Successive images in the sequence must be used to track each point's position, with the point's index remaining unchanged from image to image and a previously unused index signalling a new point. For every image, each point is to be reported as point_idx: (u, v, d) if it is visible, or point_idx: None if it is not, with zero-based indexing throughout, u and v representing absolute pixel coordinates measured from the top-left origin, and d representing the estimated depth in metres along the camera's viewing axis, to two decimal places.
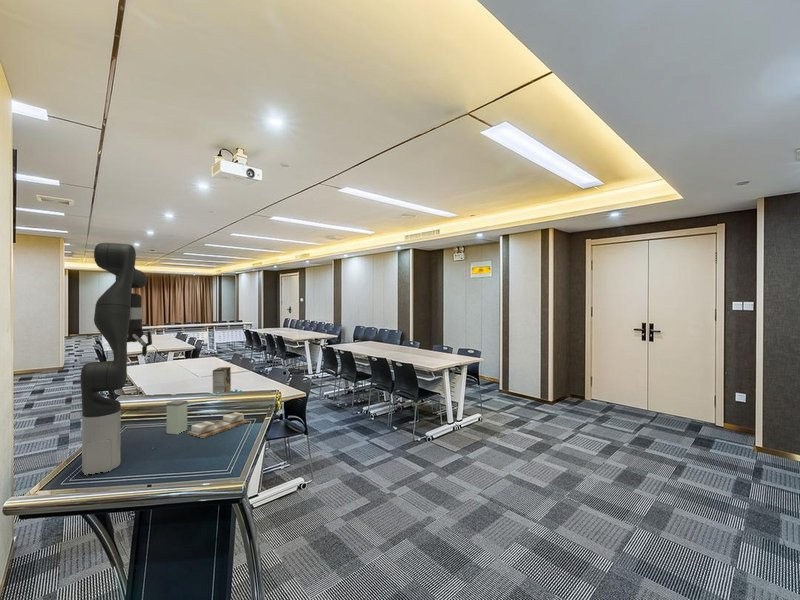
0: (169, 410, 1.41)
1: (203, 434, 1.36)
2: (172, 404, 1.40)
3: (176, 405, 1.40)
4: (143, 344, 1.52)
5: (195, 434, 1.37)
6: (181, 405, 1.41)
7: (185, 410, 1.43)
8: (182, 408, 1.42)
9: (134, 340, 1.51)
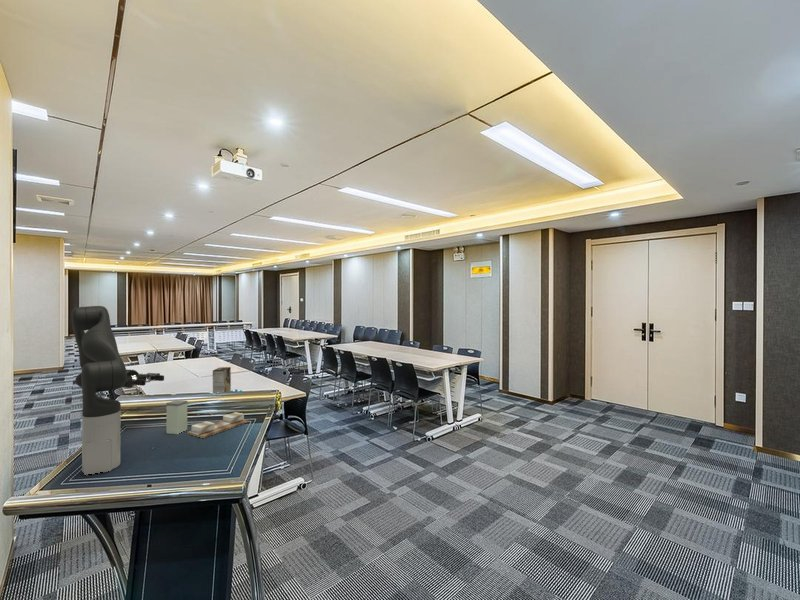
0: (169, 410, 1.41)
1: (203, 434, 1.36)
2: (172, 404, 1.40)
3: (176, 405, 1.40)
4: (154, 374, 1.50)
5: (195, 434, 1.37)
6: (181, 405, 1.41)
7: (185, 410, 1.43)
8: (182, 408, 1.42)
9: (143, 376, 1.48)
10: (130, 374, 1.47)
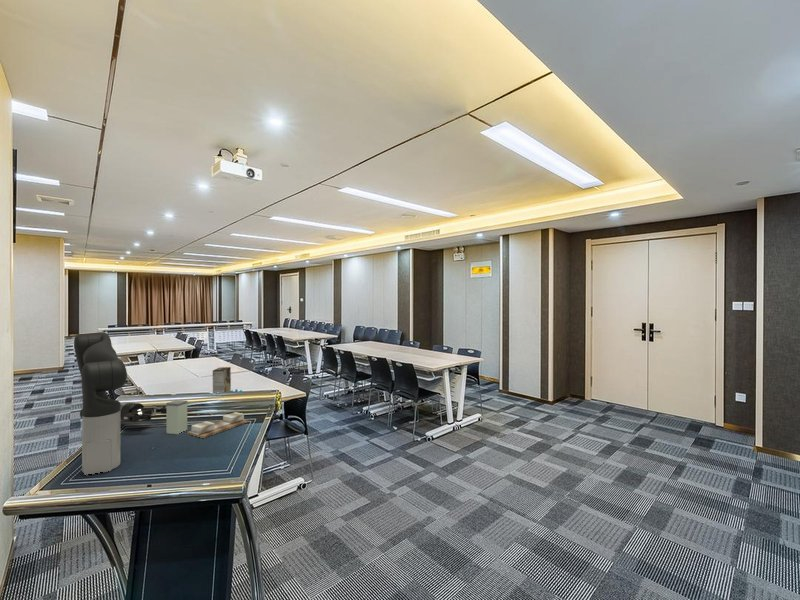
0: (169, 410, 1.41)
1: (203, 434, 1.36)
2: (172, 404, 1.40)
3: (176, 405, 1.40)
4: (159, 407, 1.49)
5: (195, 434, 1.37)
6: (181, 405, 1.41)
7: (185, 410, 1.43)
8: (182, 408, 1.42)
9: (149, 409, 1.47)
10: (135, 408, 1.46)
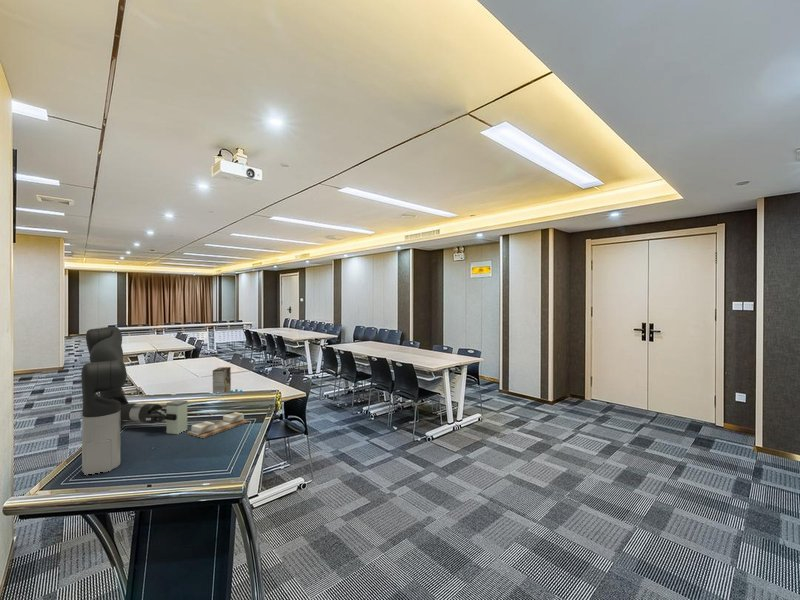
0: (169, 410, 1.41)
1: (203, 434, 1.36)
2: (172, 404, 1.40)
3: (176, 405, 1.40)
4: None
5: (195, 434, 1.37)
6: (181, 405, 1.41)
7: (185, 410, 1.43)
8: (182, 408, 1.42)
9: (166, 411, 1.44)
10: (154, 409, 1.44)
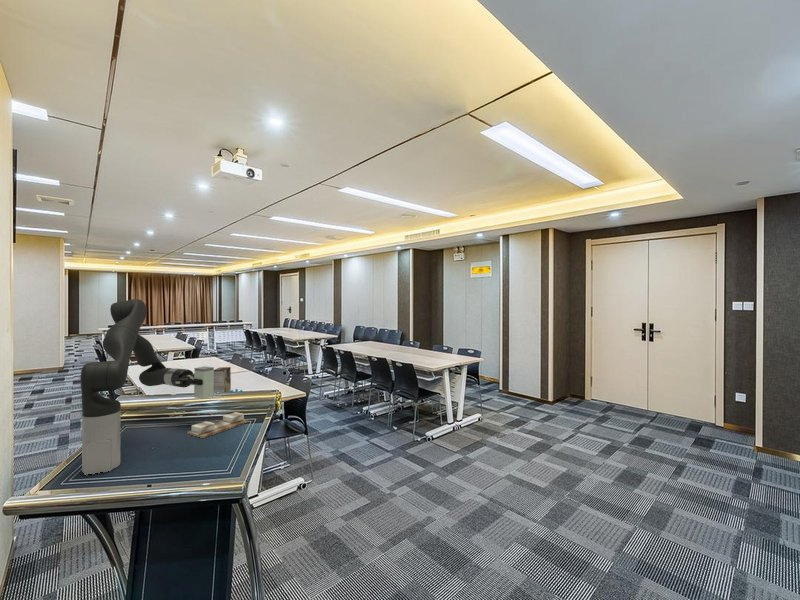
0: (196, 375, 1.44)
1: (203, 434, 1.36)
2: (199, 369, 1.44)
3: (202, 370, 1.43)
4: None
5: (195, 434, 1.37)
6: (207, 371, 1.44)
7: (211, 376, 1.46)
8: (208, 374, 1.45)
9: None
10: (185, 374, 1.49)
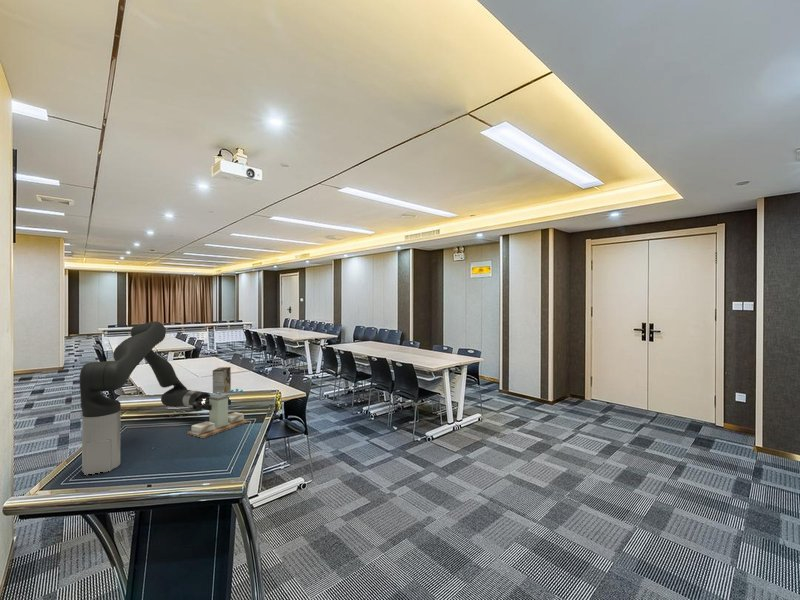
0: (211, 404, 1.45)
1: (203, 434, 1.36)
2: (213, 398, 1.44)
3: (216, 399, 1.43)
4: None
5: (195, 434, 1.37)
6: (221, 400, 1.44)
7: (226, 405, 1.46)
8: (222, 402, 1.45)
9: None
10: (202, 397, 1.50)
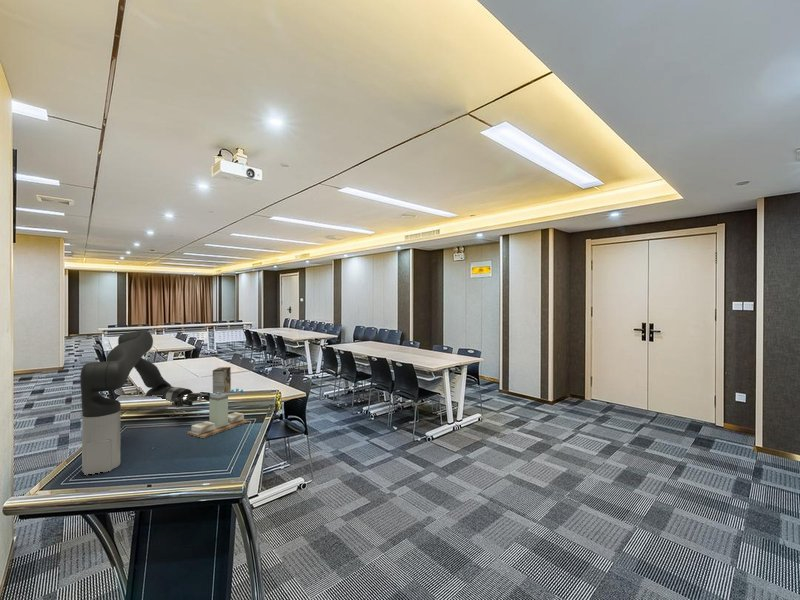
0: (211, 404, 1.45)
1: (203, 434, 1.36)
2: (213, 398, 1.44)
3: (216, 399, 1.43)
4: (204, 394, 1.58)
5: (195, 434, 1.37)
6: (221, 400, 1.44)
7: (226, 405, 1.46)
8: (222, 402, 1.45)
9: (194, 395, 1.56)
10: (184, 393, 1.57)
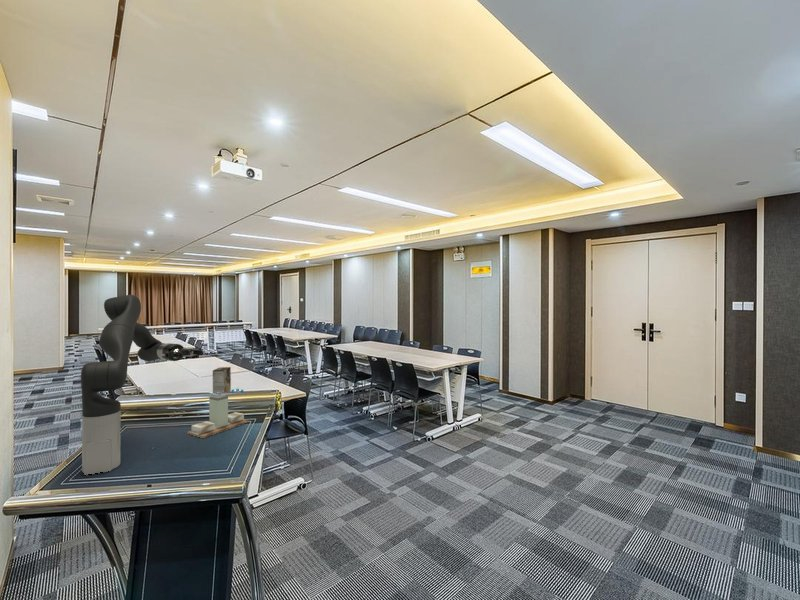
0: (211, 404, 1.45)
1: (203, 434, 1.36)
2: (213, 398, 1.44)
3: (216, 399, 1.43)
4: (195, 349, 1.57)
5: (195, 434, 1.37)
6: (221, 400, 1.44)
7: (226, 405, 1.46)
8: (222, 402, 1.45)
9: (186, 350, 1.55)
10: (175, 348, 1.56)
